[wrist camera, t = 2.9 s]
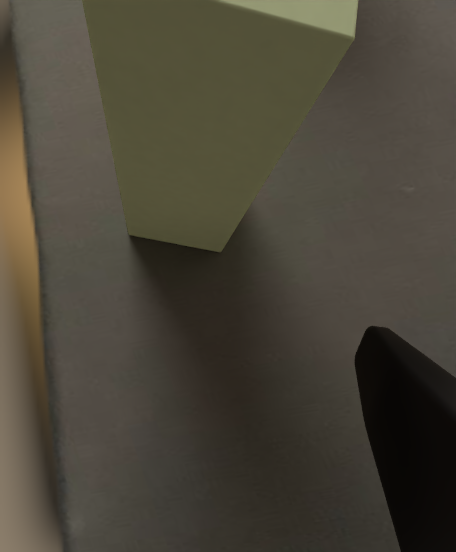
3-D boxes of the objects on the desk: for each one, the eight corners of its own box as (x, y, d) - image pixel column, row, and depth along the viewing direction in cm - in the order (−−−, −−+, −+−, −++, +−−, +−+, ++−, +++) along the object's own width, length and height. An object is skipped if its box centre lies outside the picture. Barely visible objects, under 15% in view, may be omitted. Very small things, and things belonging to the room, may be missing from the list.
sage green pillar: (221, 252, 23) (355, 38, 8) (127, 235, 23) (73, -38, 7) (234, 168, 24) (376, -167, 9) (146, 149, 24) (132, -250, 8)
